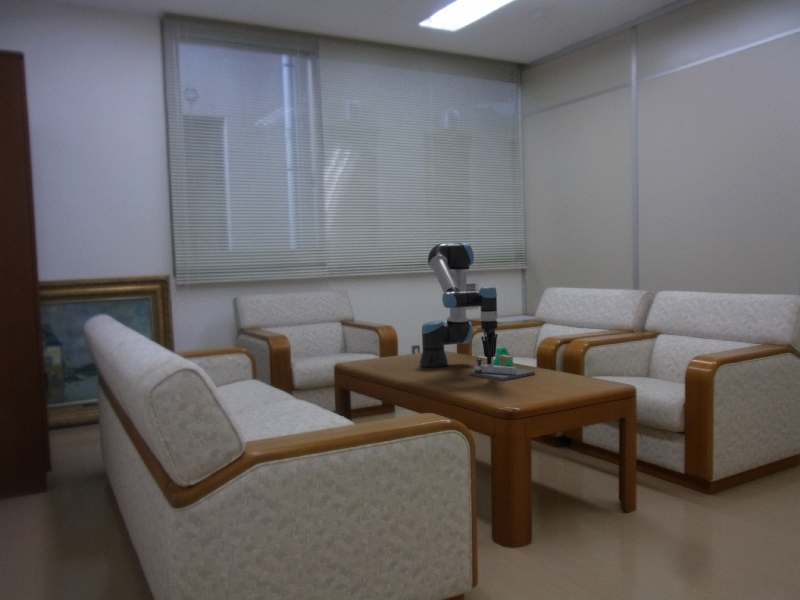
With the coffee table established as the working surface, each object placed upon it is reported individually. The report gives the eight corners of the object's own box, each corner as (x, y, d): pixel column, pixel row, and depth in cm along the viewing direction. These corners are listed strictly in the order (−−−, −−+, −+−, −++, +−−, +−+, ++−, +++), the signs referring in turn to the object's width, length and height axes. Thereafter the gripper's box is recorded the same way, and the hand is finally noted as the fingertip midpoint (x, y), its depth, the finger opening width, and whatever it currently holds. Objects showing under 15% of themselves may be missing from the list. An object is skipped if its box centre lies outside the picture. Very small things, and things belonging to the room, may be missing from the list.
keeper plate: (469, 375, 319) (468, 359, 318) (501, 369, 332) (501, 354, 332) (502, 380, 301) (502, 364, 301) (535, 374, 315) (534, 358, 314)
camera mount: (503, 364, 348) (502, 345, 347) (513, 366, 341) (512, 346, 341) (485, 367, 342) (485, 347, 341) (495, 368, 335) (494, 348, 334)
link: (472, 371, 317) (472, 359, 317) (477, 370, 321) (476, 358, 321) (512, 374, 306) (512, 362, 306) (516, 372, 310) (516, 360, 310)
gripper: (490, 321, 298) (491, 373, 299) (502, 319, 309) (503, 369, 310) (475, 321, 302) (477, 372, 303) (487, 318, 313) (489, 368, 314)
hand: (490, 370), depth 307 cm, fingers closed
